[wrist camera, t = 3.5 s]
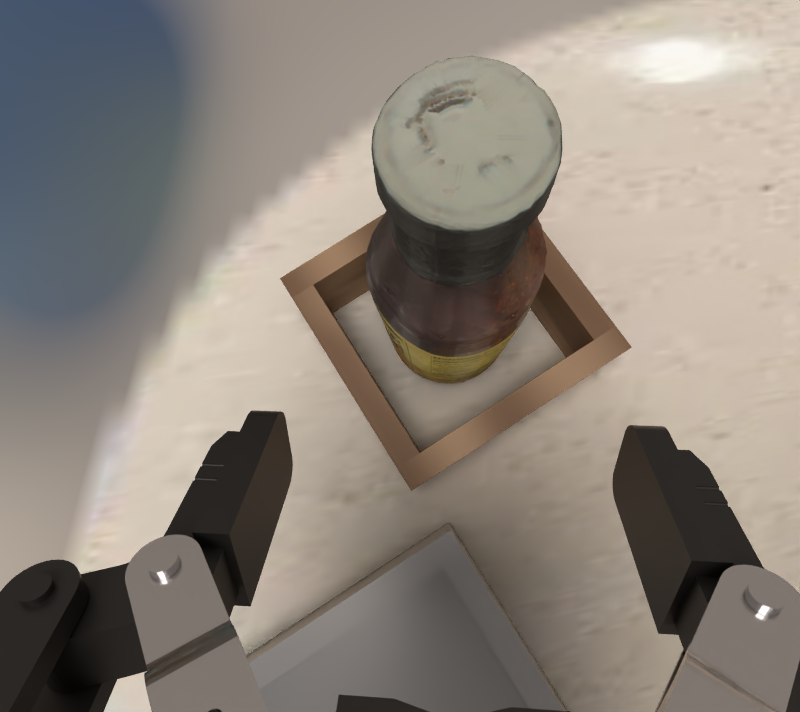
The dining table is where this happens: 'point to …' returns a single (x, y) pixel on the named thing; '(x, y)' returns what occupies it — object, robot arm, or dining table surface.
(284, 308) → the dining table surface
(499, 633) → the tray
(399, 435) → the bottle holder
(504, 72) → the sauce bottle
